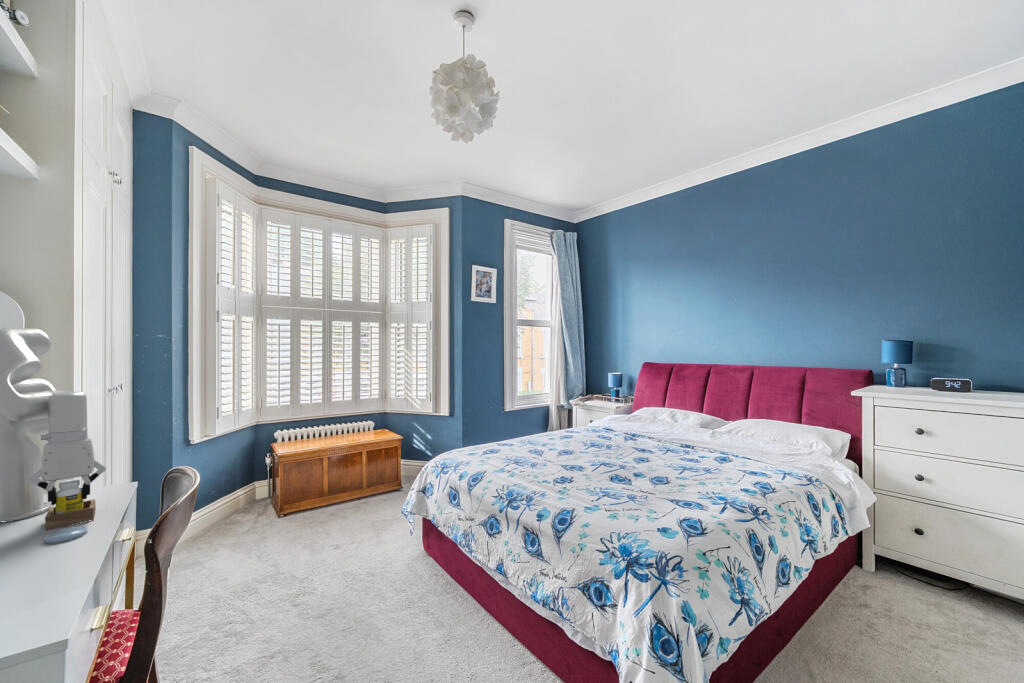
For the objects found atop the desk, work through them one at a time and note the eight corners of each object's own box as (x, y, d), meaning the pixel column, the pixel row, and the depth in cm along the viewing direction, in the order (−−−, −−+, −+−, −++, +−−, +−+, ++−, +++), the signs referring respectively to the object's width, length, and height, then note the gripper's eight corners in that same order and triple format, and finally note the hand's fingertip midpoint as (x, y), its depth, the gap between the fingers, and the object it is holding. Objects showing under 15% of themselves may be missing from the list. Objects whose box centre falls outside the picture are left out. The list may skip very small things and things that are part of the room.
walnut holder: (50, 520, 120) (50, 507, 120) (95, 510, 126) (95, 499, 126) (45, 530, 113) (45, 517, 113) (93, 520, 119) (93, 507, 119)
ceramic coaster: (35, 545, 104) (35, 541, 104) (61, 532, 112) (61, 528, 112) (72, 541, 106) (72, 537, 106) (94, 528, 113) (94, 525, 113)
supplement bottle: (65, 521, 116) (64, 485, 116) (50, 519, 117) (49, 484, 117) (88, 512, 122) (88, 478, 121) (74, 511, 123) (73, 477, 122)
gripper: (19, 444, 111) (20, 513, 111) (110, 434, 122) (111, 496, 122) (24, 439, 116) (26, 505, 116) (111, 429, 128) (112, 489, 128)
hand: (69, 500), depth 119 cm, fingers closed on supplement bottle, 5 cm apart
